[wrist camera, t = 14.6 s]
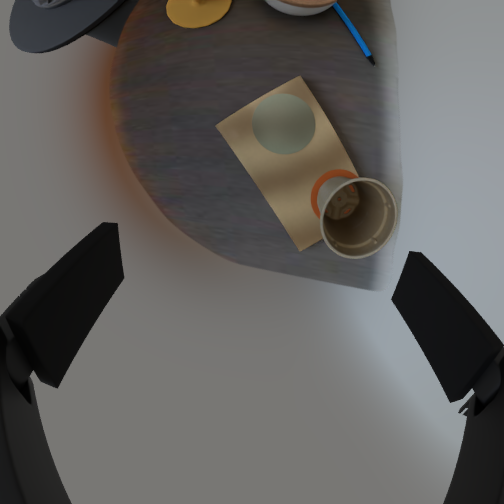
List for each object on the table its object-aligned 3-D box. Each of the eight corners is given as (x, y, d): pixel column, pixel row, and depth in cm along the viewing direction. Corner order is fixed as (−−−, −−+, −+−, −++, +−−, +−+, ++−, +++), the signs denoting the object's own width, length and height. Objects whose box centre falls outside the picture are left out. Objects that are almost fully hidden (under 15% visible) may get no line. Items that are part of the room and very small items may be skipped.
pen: (306, -35, 20) (301, -36, 20) (378, 65, 28) (376, 66, 27) (302, -32, 21) (297, -33, 21) (373, 66, 28) (371, 68, 28)
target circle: (299, 187, 35) (299, 188, 35) (350, 158, 33) (350, 158, 33) (326, 234, 38) (327, 235, 38) (373, 207, 36) (373, 207, 36)
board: (216, 125, 33) (215, 125, 31) (298, 77, 30) (300, 75, 28) (298, 247, 41) (300, 252, 39) (369, 205, 38) (374, 209, 36)
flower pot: (381, 186, 35) (411, 204, 27) (347, 240, 38) (369, 270, 31) (326, 151, 33) (349, 161, 25) (293, 212, 36) (304, 238, 29)
